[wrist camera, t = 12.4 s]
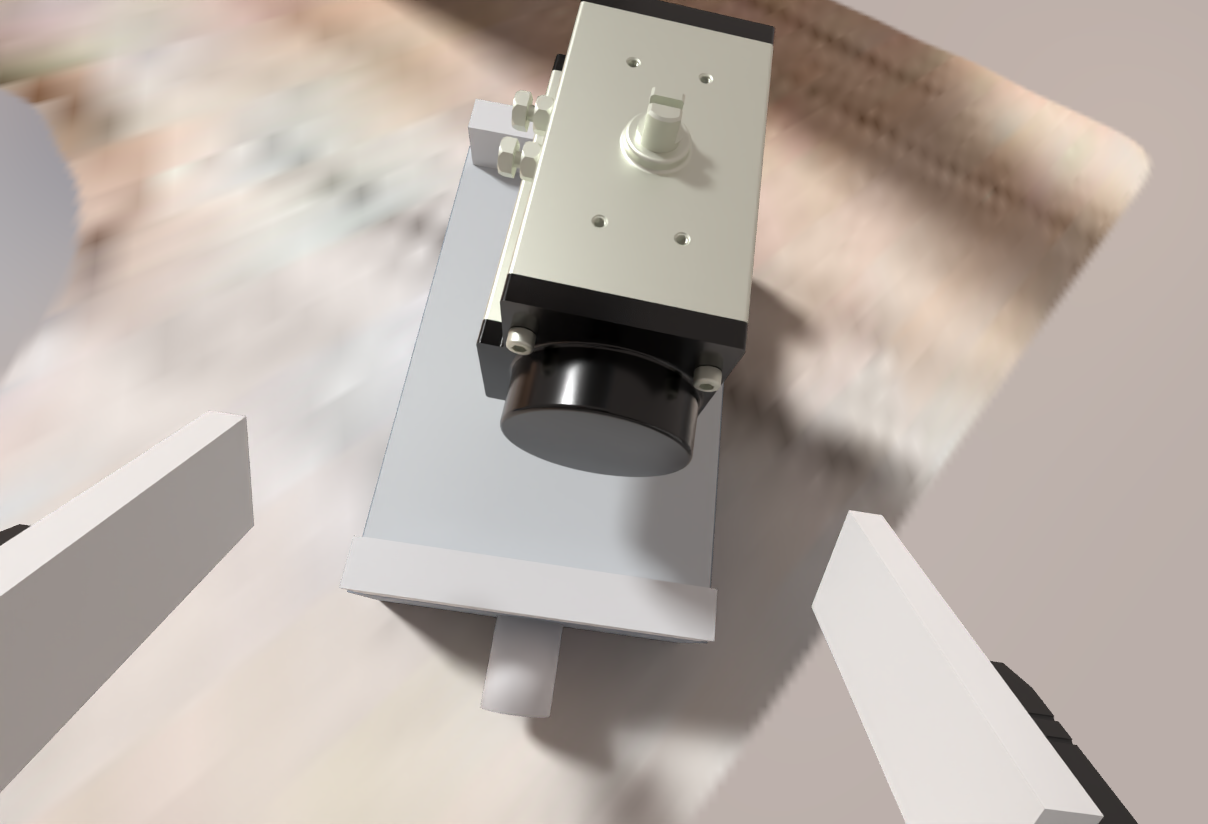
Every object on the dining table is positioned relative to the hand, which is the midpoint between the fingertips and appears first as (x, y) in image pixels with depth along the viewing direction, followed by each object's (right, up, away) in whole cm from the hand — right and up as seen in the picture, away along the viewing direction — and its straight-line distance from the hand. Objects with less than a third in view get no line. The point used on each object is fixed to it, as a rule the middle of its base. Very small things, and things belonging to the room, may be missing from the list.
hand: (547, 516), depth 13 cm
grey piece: (-1, +1, +14) cm, 14 cm away
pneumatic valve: (+1, +4, +10) cm, 11 cm away
